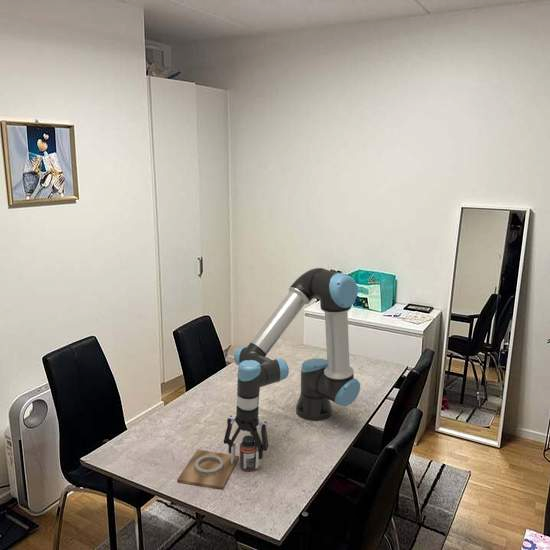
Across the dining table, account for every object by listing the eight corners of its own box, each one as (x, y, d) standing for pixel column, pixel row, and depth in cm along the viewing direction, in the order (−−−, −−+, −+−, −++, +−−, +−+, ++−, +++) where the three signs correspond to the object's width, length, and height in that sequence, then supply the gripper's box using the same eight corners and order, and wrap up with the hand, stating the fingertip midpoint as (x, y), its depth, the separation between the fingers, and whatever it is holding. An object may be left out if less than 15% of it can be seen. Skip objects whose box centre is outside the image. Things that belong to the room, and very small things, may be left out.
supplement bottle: (239, 462, 183) (239, 433, 180) (256, 461, 183) (256, 433, 181) (240, 472, 177) (240, 443, 174) (257, 471, 178) (257, 442, 175)
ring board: (238, 458, 185) (238, 451, 184) (222, 489, 168) (222, 482, 167) (197, 451, 188) (197, 445, 188) (177, 482, 171) (177, 475, 171)
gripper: (280, 405, 176) (276, 463, 181) (221, 395, 180) (220, 452, 186) (275, 415, 169) (271, 475, 174) (214, 405, 173) (213, 464, 179)
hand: (245, 463), depth 180 cm, fingers open, 8 cm apart
